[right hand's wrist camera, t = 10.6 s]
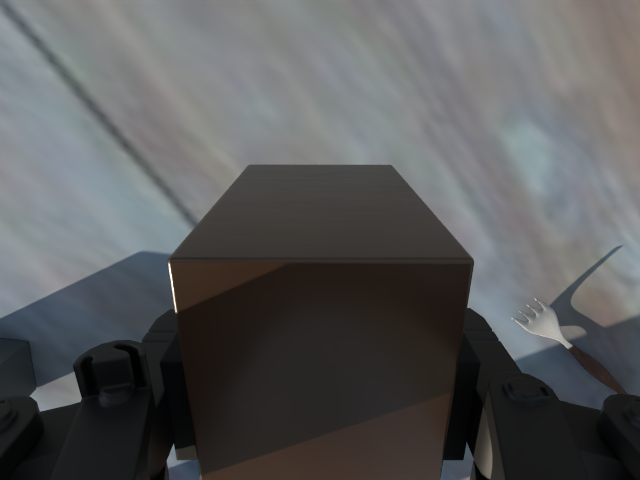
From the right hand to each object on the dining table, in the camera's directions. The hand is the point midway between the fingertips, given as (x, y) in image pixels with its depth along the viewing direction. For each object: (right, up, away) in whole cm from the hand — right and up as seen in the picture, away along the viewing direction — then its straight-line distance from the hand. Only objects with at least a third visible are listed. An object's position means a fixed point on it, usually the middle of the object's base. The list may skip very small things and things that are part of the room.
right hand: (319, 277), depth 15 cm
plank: (0, -10, +5) cm, 11 cm away
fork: (+21, -8, +19) cm, 29 cm away
